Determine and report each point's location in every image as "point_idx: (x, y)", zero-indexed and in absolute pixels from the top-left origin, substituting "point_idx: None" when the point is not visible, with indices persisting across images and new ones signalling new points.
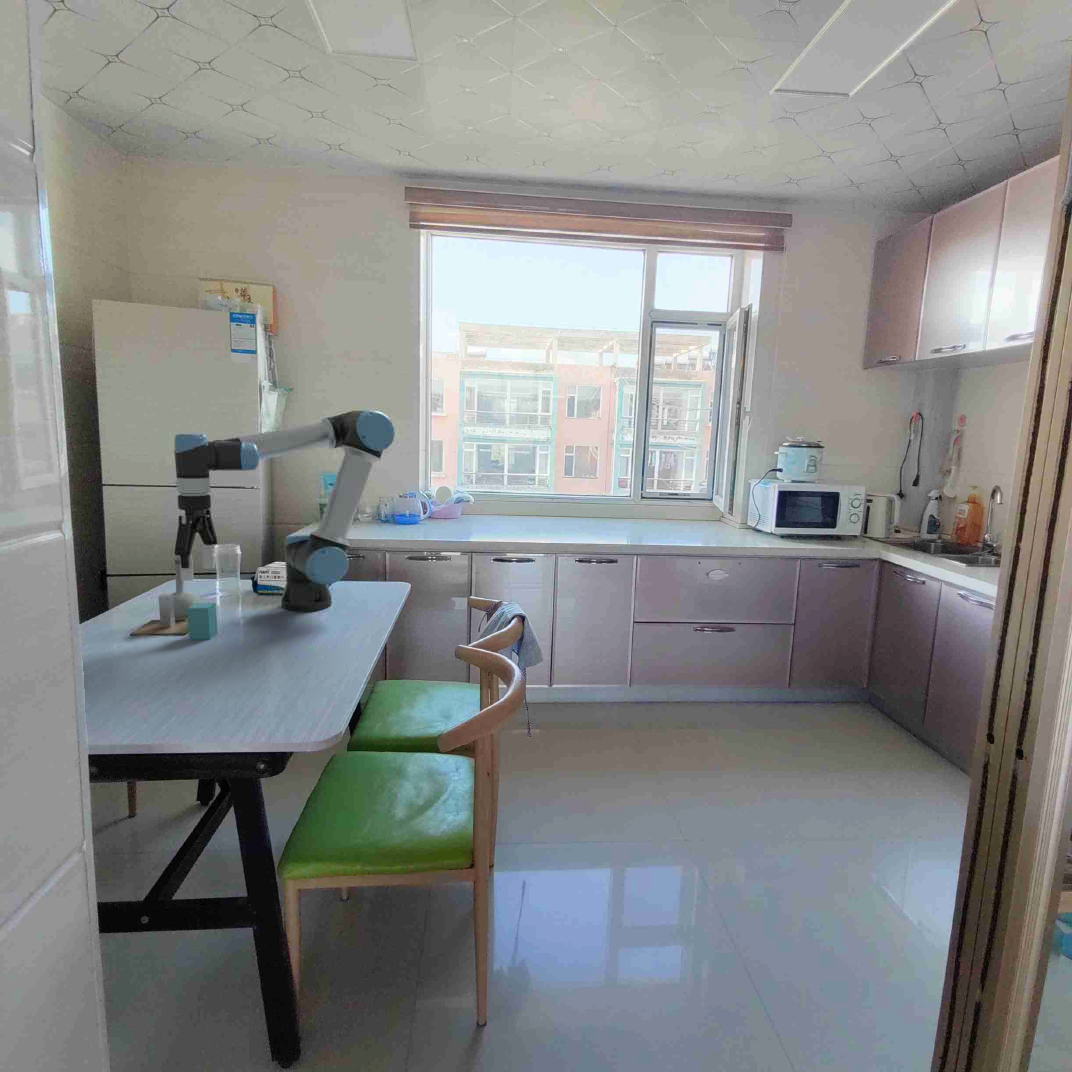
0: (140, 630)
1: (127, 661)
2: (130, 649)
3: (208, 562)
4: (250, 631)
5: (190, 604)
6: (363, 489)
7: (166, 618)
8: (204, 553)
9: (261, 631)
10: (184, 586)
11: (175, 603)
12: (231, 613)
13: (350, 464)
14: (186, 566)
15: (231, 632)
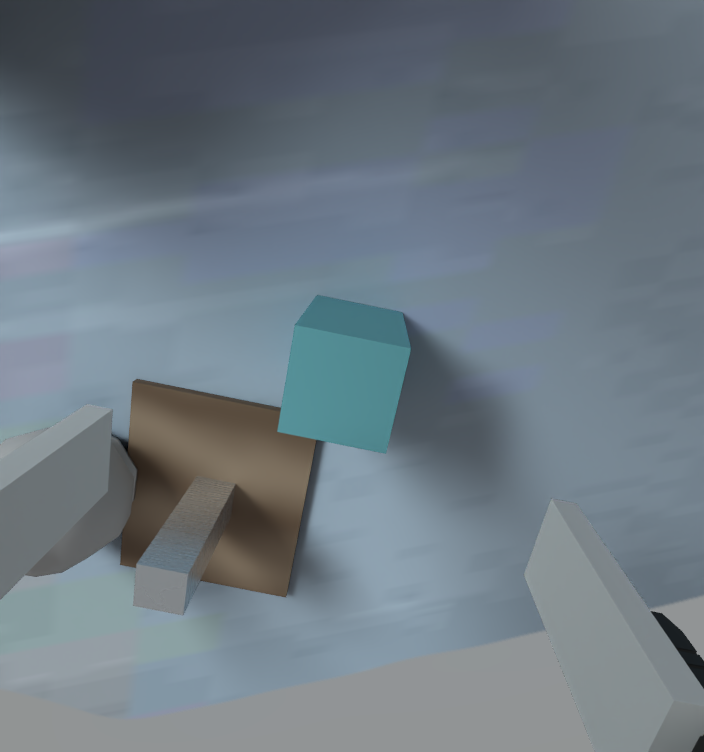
0: (253, 573)
1: None
2: (445, 559)
3: (78, 476)
4: (324, 143)
5: None
6: None
7: (223, 518)
8: (12, 567)
9: (336, 84)
10: None
11: (99, 524)
12: (16, 278)
13: None
14: (680, 636)
15: (321, 234)
